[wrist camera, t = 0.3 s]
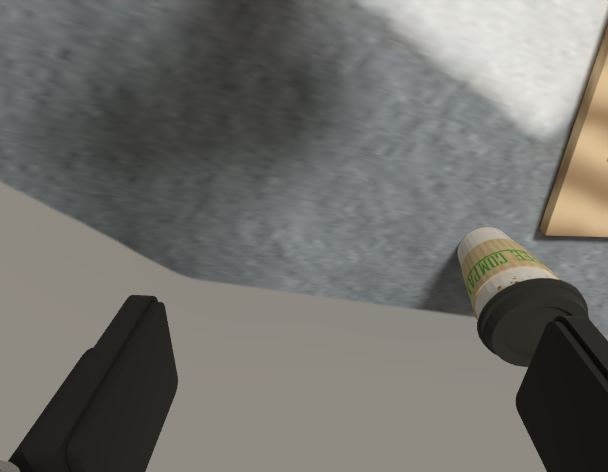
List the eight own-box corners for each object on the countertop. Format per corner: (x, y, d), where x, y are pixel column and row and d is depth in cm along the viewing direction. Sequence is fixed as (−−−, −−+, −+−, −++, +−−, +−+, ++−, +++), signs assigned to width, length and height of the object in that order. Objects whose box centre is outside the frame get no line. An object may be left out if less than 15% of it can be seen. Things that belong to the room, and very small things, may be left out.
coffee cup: (512, 200, 46) (586, 274, 33) (533, 263, 50) (606, 351, 37) (431, 234, 49) (470, 315, 36) (456, 291, 53) (500, 383, 40)
